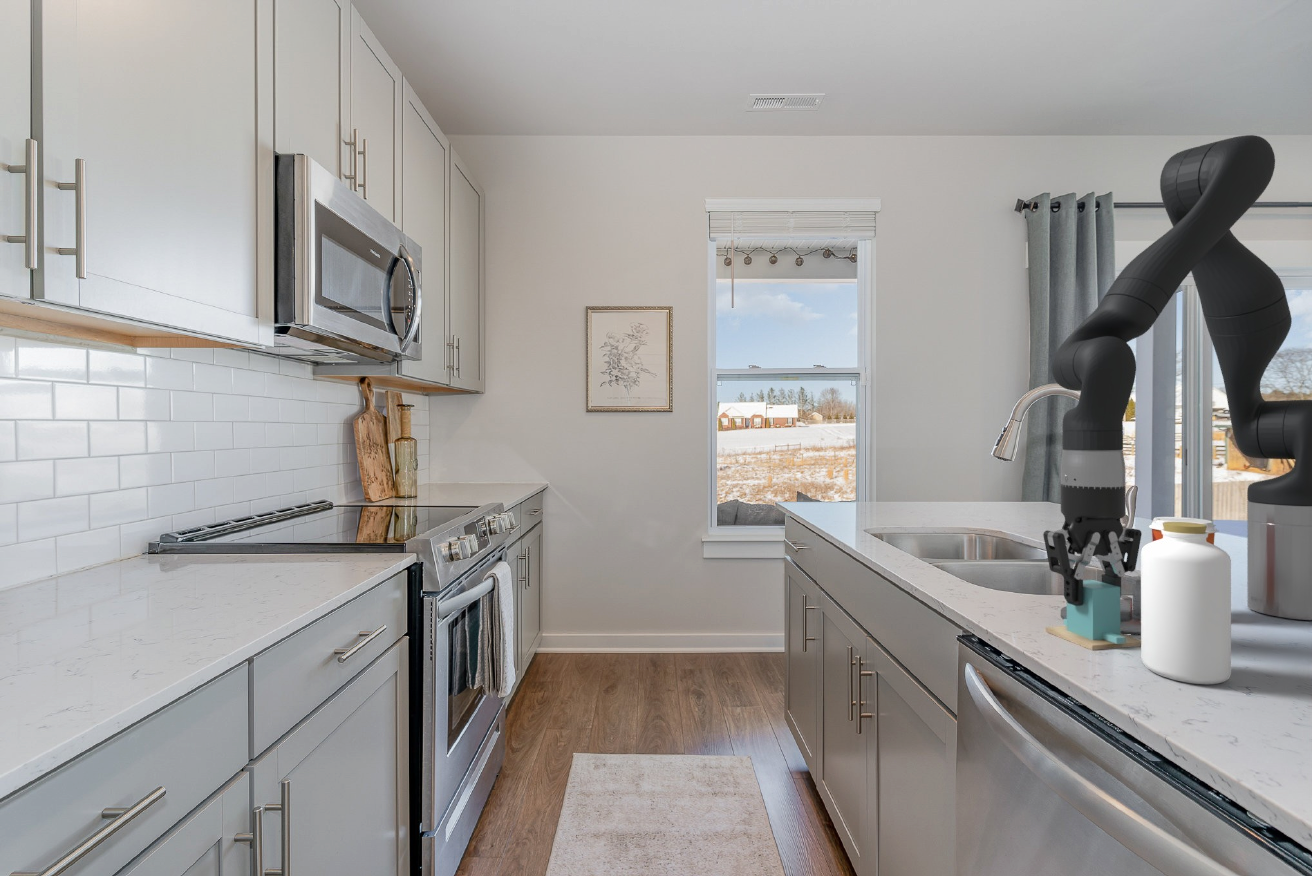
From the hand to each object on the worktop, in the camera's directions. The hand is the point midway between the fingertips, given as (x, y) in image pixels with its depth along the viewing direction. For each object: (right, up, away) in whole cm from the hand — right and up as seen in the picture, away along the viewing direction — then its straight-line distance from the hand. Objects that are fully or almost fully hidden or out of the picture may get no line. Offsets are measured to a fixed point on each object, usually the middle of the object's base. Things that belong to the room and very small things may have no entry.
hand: (1092, 602), depth 90 cm
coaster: (0, -5, 0) cm, 5 cm away
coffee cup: (+21, -5, +10) cm, 23 cm away
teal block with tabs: (0, -4, 0) cm, 4 cm away
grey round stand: (+8, -5, +8) cm, 12 cm away
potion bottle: (+2, -5, -13) cm, 14 cm away
